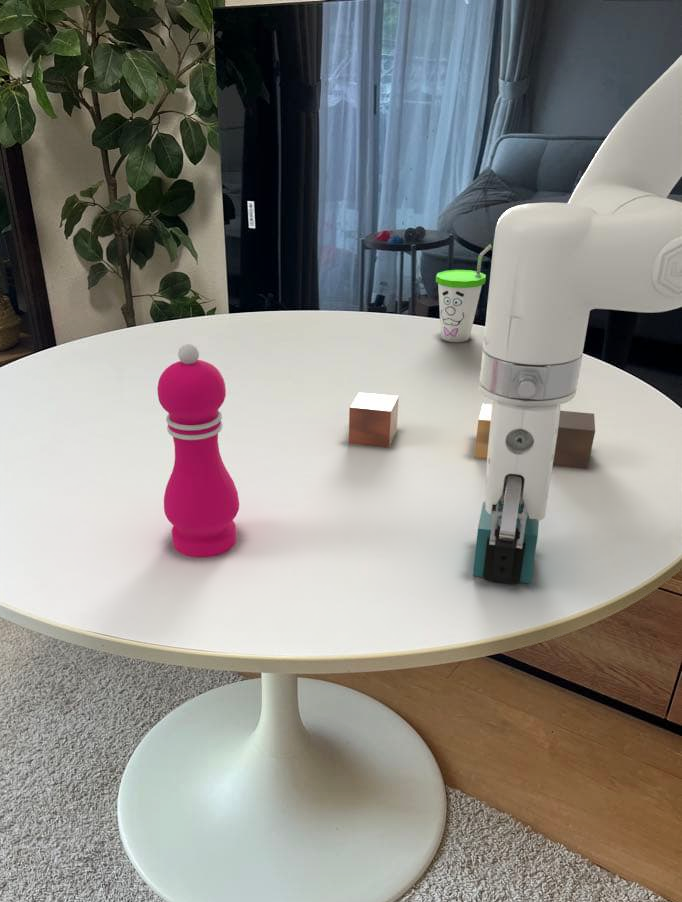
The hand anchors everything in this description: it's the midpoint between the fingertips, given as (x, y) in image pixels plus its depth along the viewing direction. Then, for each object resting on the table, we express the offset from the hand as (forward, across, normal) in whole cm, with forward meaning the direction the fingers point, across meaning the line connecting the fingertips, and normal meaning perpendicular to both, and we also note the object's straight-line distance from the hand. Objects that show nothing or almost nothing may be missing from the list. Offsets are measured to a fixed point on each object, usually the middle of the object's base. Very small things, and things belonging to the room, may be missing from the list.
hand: (503, 560), depth 72 cm
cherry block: (+1, +25, +17) cm, 30 cm away
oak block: (+1, +25, +2) cm, 25 cm away
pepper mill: (+1, -3, +28) cm, 29 cm away
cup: (+1, +67, +12) cm, 68 cm away
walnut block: (+1, +25, -5) cm, 25 cm away
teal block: (0, 0, 0) cm, 0 cm away
